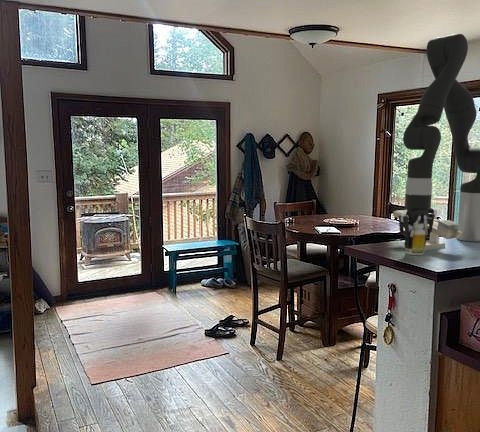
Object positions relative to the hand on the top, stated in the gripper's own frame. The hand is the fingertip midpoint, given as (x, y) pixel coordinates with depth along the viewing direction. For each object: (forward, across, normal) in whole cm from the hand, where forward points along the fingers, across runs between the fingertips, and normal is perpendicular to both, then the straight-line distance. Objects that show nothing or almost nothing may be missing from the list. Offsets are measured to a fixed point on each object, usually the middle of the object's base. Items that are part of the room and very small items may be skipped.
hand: (415, 247), depth 149 cm
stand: (+2, -11, -5) cm, 12 cm away
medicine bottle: (+2, -22, -13) cm, 26 cm away
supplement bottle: (+2, 0, 0) cm, 2 cm away
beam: (-6, -11, -5) cm, 13 cm away
